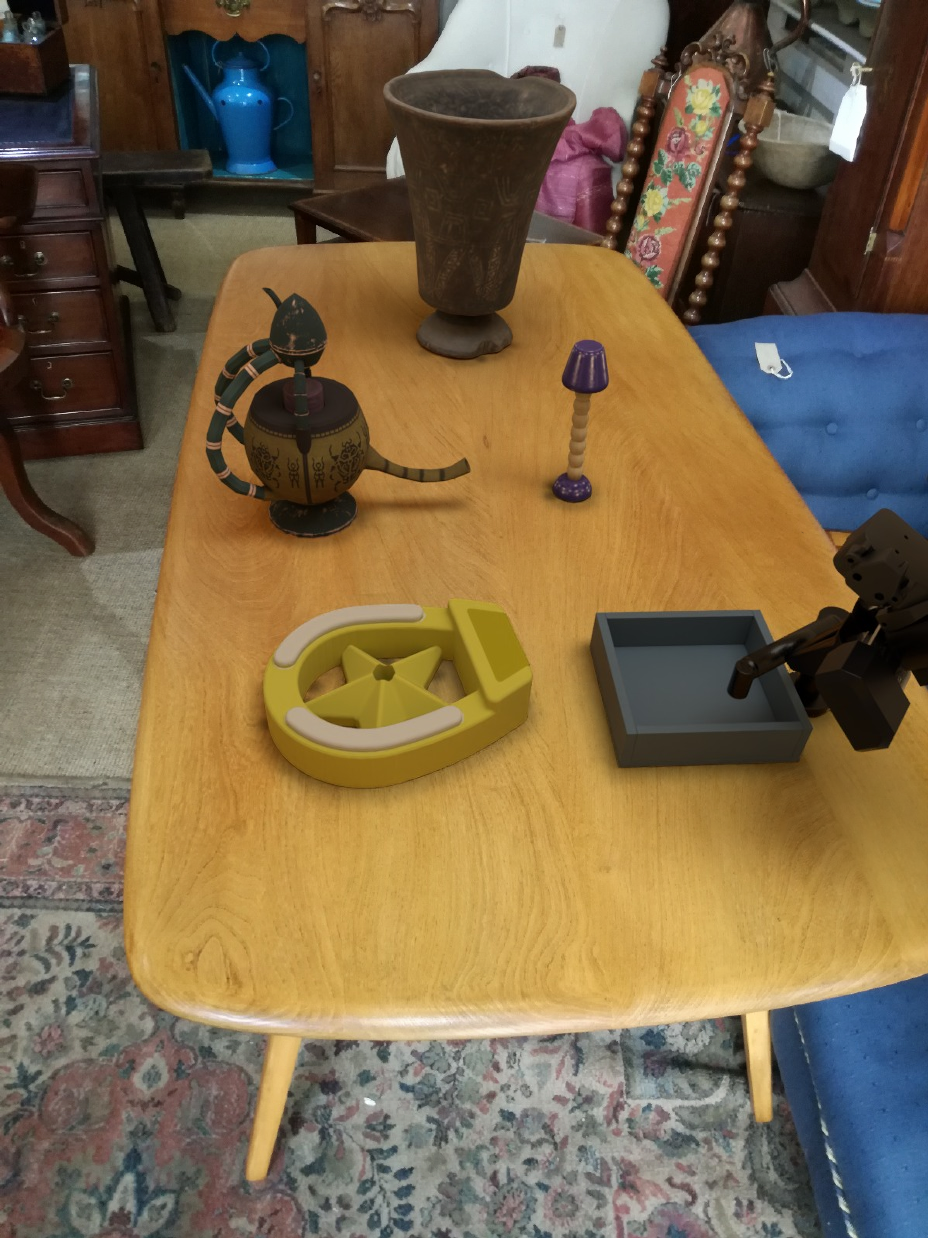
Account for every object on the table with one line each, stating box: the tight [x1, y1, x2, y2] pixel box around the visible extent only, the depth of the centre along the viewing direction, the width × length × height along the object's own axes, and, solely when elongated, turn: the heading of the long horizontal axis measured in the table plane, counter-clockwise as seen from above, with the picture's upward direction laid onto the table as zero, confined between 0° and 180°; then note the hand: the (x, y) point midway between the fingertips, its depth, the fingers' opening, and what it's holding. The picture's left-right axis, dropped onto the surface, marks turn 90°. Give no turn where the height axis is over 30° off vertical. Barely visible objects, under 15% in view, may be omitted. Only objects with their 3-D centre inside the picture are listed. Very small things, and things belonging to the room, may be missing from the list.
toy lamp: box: [552, 339, 610, 503], centre depth 95 cm, size 5×5×17 cm
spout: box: [727, 605, 850, 700], centre depth 72 cm, size 12×3×3 cm, turn 123°
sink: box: [589, 609, 814, 768], centre depth 77 cm, size 15×14×4 cm
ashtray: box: [262, 597, 534, 789], centre depth 76 cm, size 16×21×5 cm
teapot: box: [205, 287, 472, 540], centre depth 88 cm, size 12×25×23 cm, turn 96°
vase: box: [382, 68, 578, 359], centre depth 115 cm, size 22×22×30 cm
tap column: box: [788, 671, 830, 718], centre depth 77 cm, size 4×4×8 cm
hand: (789, 662), depth 70 cm, fingers closed, pressing on spout
